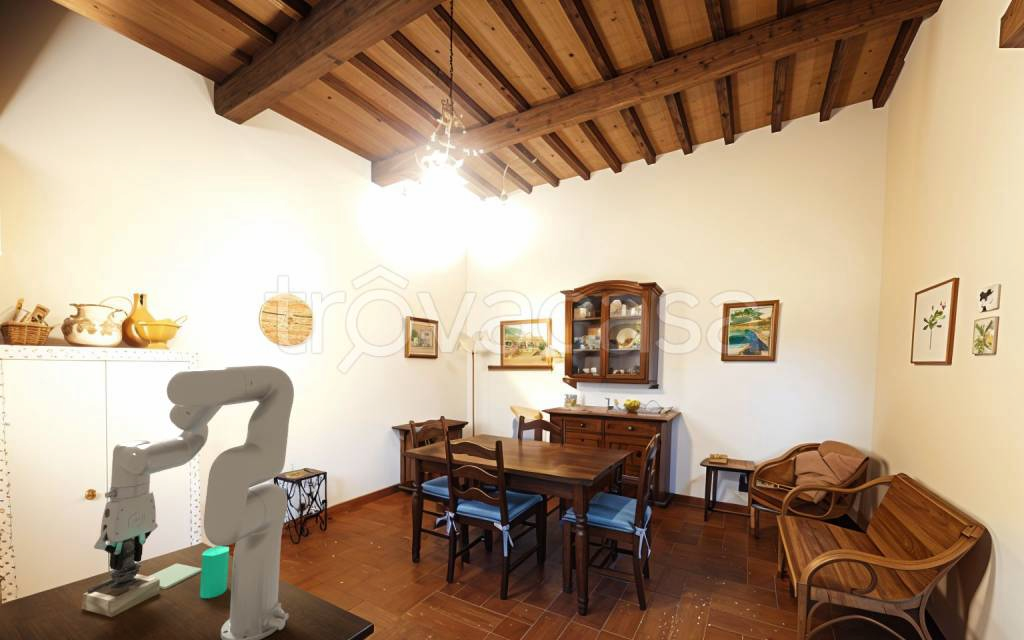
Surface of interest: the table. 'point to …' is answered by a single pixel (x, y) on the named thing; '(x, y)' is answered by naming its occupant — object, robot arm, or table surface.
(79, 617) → the table surface
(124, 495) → the robot arm
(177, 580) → the mat
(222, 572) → the candle
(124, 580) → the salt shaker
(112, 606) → the holder
